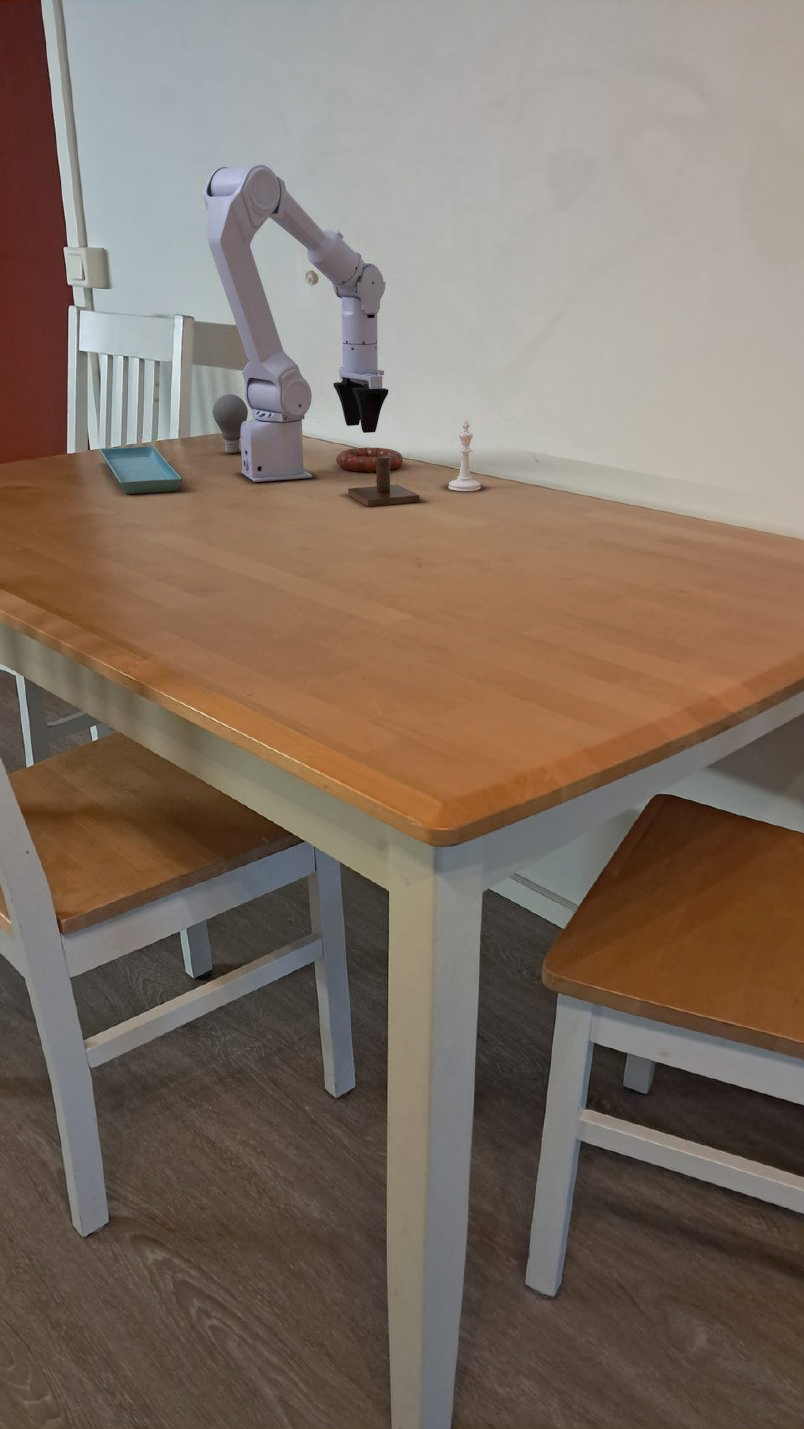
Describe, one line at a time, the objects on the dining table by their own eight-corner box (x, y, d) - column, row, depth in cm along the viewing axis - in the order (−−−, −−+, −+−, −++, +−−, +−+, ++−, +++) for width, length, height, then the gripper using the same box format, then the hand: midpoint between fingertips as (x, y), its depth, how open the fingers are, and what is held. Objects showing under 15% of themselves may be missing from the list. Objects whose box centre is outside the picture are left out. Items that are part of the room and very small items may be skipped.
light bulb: (221, 449, 190) (217, 391, 186) (253, 450, 190) (250, 392, 186) (211, 455, 185) (207, 396, 181) (244, 456, 184) (241, 397, 180)
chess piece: (443, 489, 161) (445, 421, 157) (453, 483, 165) (455, 417, 161) (475, 492, 159) (477, 424, 155) (484, 486, 164) (487, 419, 160)
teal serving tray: (183, 492, 158) (182, 475, 157) (121, 496, 155) (119, 479, 154) (155, 460, 180) (154, 445, 179) (100, 463, 177) (98, 448, 176)
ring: (350, 475, 171) (350, 459, 170) (328, 463, 180) (327, 448, 179) (412, 470, 174) (412, 455, 173) (387, 458, 184) (387, 444, 183)
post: (367, 506, 150) (367, 463, 148) (347, 495, 157) (347, 453, 155) (419, 502, 153) (420, 459, 151) (397, 490, 160) (398, 450, 158)
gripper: (400, 346, 168) (399, 433, 174) (366, 338, 180) (367, 420, 186) (358, 347, 166) (359, 436, 171) (327, 339, 178) (328, 423, 183)
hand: (360, 428), depth 178 cm, fingers open, 7 cm apart
